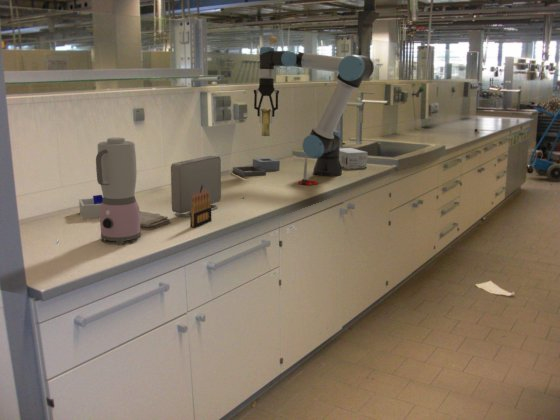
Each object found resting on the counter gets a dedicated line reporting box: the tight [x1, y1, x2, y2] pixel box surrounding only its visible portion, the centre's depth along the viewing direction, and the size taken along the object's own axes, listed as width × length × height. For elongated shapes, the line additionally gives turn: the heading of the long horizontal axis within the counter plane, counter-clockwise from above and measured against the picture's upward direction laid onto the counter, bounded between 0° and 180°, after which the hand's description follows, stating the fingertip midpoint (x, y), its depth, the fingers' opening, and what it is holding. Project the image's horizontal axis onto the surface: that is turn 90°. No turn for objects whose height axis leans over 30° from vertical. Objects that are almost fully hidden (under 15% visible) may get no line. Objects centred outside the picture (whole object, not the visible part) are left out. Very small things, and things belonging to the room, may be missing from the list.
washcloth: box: [140, 211, 171, 231], centre depth 195 cm, size 12×18×3 cm, turn 63°
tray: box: [232, 165, 267, 179], centre depth 287 cm, size 16×12×3 cm
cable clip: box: [92, 194, 103, 204], centre depth 206 cm, size 12×4×6 cm, turn 47°
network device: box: [170, 155, 222, 218], centre depth 210 cm, size 26×9×20 cm, turn 151°
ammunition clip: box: [189, 189, 213, 229], centre depth 194 cm, size 11×2×12 cm, turn 154°
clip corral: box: [78, 197, 101, 220], centre depth 206 cm, size 11×19×5 cm, turn 115°
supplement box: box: [339, 147, 369, 170], centre depth 321 cm, size 17×13×9 cm
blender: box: [95, 137, 142, 245], centre depth 171 cm, size 16×12×32 cm
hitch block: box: [252, 157, 281, 172], centre depth 299 cm, size 11×11×6 cm
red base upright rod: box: [297, 157, 319, 186], centre depth 268 cm, size 8×13×9 cm
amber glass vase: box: [260, 108, 272, 137], centre depth 293 cm, size 5×5×14 cm
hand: (265, 122), depth 293 cm, fingers closed on amber glass vase, 5 cm apart
